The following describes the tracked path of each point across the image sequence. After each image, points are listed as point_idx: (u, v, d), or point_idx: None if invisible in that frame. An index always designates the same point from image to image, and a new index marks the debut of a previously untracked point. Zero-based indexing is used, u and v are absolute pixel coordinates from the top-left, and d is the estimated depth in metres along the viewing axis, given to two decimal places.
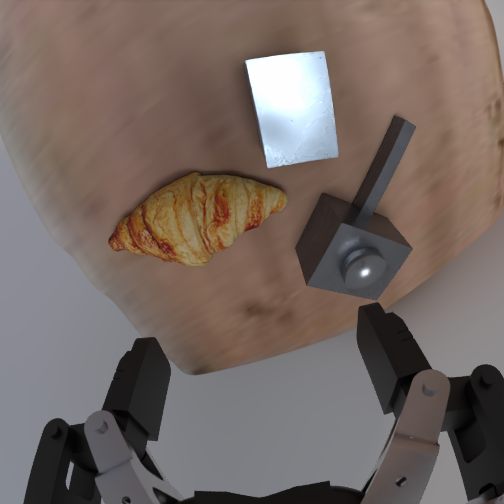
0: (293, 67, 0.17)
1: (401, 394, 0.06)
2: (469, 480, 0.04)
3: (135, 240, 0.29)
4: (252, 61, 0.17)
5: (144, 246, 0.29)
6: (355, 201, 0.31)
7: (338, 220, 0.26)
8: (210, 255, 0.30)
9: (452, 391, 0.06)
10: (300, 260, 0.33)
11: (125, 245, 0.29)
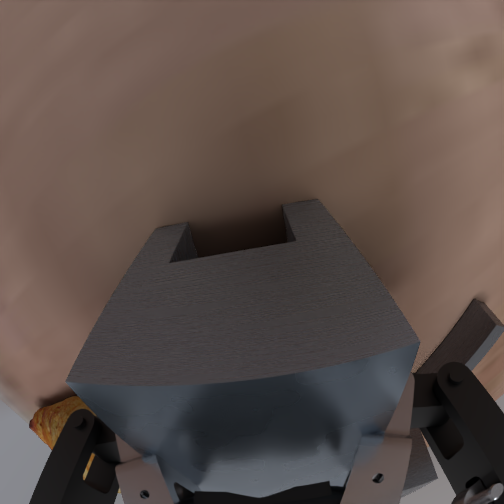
0: (261, 416, 0.04)
1: None
2: (453, 475, 0.04)
3: None
4: (88, 389, 0.04)
5: None
6: None
7: None
8: None
9: (419, 387, 0.06)
10: None
11: (46, 443, 0.14)
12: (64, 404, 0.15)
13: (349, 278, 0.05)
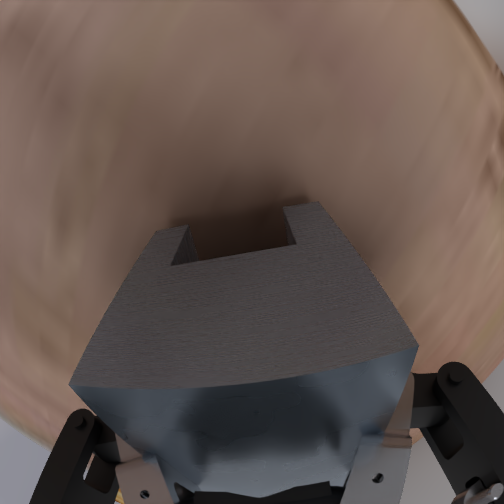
0: (262, 417, 0.04)
1: None
2: (452, 475, 0.04)
3: None
4: (91, 392, 0.04)
5: None
6: None
7: None
8: None
9: (419, 387, 0.06)
10: None
11: None
12: None
13: (349, 282, 0.05)
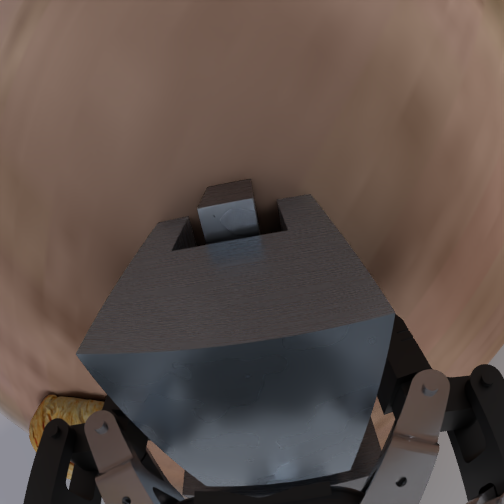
0: (253, 382, 0.05)
1: (401, 394, 0.06)
2: (469, 480, 0.04)
3: None
4: (97, 360, 0.05)
5: None
6: None
7: (184, 483, 0.10)
8: None
9: (452, 391, 0.06)
10: None
11: None
12: None
13: (333, 260, 0.06)
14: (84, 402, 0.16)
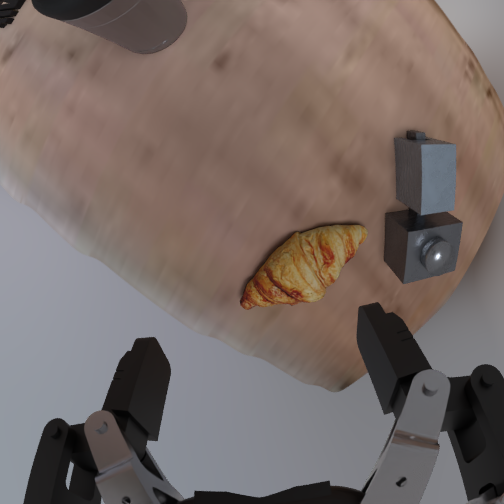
0: (442, 153, 0.27)
1: (401, 394, 0.06)
2: (469, 480, 0.04)
3: (265, 296, 0.39)
4: (424, 146, 0.27)
5: (275, 298, 0.38)
6: None
7: (405, 230, 0.32)
8: (325, 289, 0.39)
9: (452, 391, 0.06)
10: (391, 267, 0.39)
11: (257, 302, 0.40)
12: (269, 257, 0.39)
13: (443, 141, 0.28)
14: (331, 226, 0.38)
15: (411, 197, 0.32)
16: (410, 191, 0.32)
